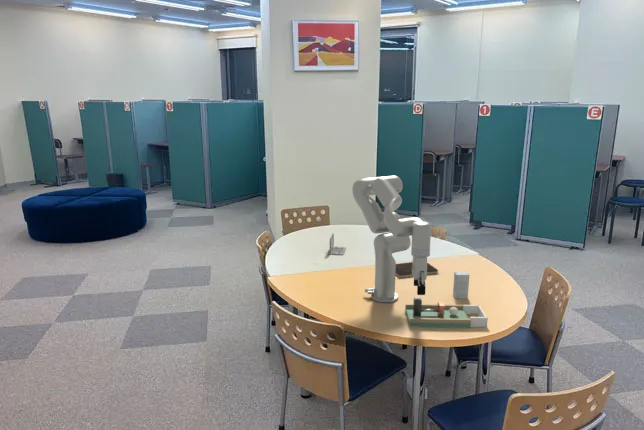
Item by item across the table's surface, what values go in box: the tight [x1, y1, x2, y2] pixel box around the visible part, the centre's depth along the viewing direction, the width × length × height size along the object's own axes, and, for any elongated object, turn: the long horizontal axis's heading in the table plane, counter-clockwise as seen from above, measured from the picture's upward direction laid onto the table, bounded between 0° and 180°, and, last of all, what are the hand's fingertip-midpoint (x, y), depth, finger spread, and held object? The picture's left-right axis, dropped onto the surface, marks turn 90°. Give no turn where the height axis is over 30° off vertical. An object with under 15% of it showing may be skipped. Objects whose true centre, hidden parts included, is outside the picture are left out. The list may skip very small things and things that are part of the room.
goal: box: [462, 304, 489, 328], centre depth 198 cm, size 7×12×4 cm, turn 178°
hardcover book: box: [395, 261, 439, 279], centre depth 253 cm, size 16×23×2 cm
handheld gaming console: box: [328, 232, 347, 256], centre depth 283 cm, size 13×9×10 cm
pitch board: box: [404, 303, 472, 329], centre depth 199 cm, size 25×14×4 cm, turn 87°
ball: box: [449, 307, 458, 316], centre depth 198 cm, size 4×4×4 cm
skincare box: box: [452, 271, 470, 299], centre depth 219 cm, size 6×4×12 cm
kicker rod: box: [412, 296, 445, 317], centre depth 198 cm, size 12×4×7 cm, turn 87°
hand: (419, 290), depth 195 cm, fingers open, 9 cm apart
